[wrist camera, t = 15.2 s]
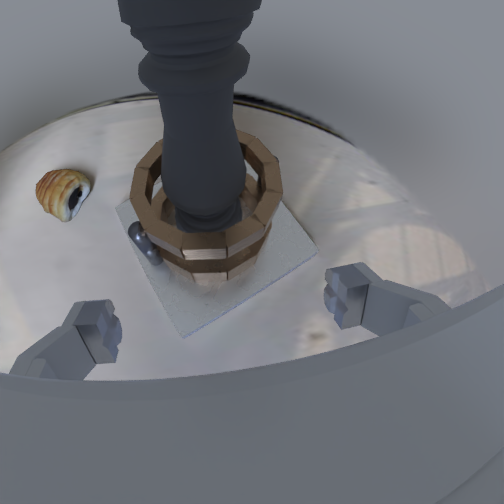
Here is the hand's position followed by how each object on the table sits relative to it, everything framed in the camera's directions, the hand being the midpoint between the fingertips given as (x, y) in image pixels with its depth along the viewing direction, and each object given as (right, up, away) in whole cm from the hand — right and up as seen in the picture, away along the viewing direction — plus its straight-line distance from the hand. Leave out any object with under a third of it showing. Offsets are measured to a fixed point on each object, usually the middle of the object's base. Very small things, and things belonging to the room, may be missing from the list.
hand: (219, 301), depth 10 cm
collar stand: (-3, +4, +19) cm, 20 cm away
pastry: (-24, +9, +20) cm, 32 cm away
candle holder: (-3, +4, +18) cm, 19 cm away
